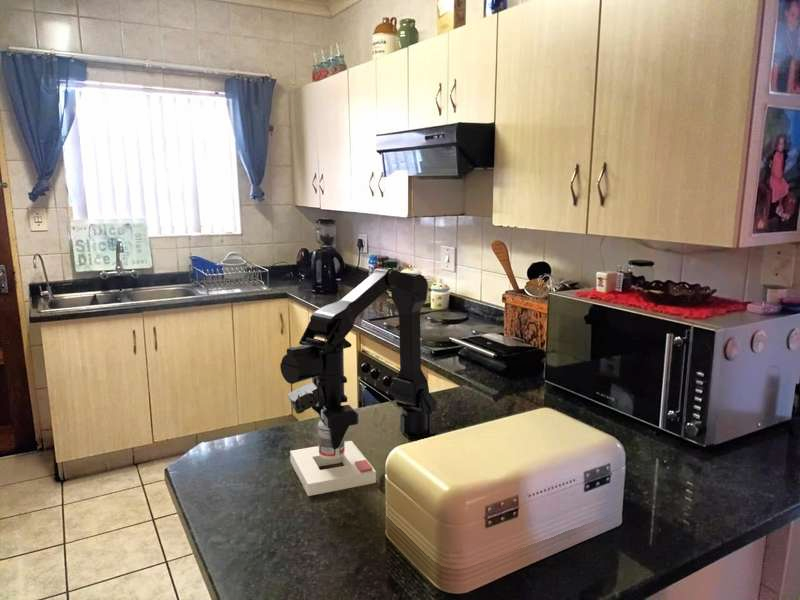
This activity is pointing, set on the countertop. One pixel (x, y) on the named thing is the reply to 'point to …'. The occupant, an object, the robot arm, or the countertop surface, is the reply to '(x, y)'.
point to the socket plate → (331, 470)
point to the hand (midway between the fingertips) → (331, 443)
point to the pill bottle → (328, 442)
